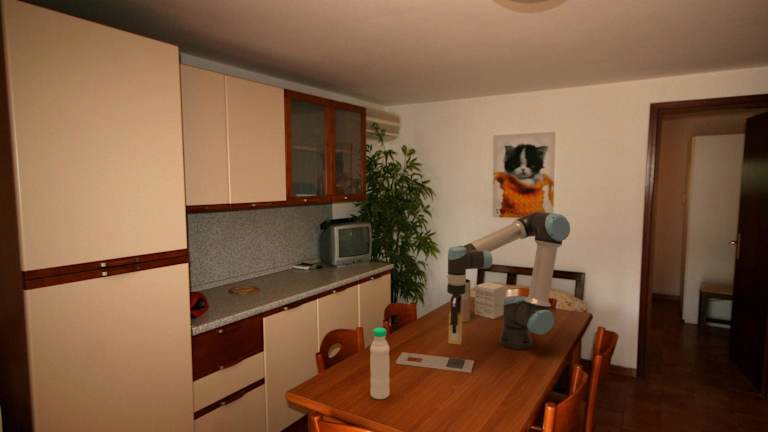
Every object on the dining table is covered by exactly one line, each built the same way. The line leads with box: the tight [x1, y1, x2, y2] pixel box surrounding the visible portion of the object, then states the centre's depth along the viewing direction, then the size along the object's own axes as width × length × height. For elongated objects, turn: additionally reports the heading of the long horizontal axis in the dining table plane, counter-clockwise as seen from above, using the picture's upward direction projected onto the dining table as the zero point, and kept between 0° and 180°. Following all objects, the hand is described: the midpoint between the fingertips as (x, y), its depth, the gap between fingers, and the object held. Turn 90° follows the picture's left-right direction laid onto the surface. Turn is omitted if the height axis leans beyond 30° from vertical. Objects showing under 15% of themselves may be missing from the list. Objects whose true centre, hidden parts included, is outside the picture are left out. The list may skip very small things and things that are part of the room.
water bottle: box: [369, 327, 391, 400], centre depth 160 cm, size 7×7×25 cm
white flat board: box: [395, 352, 475, 374], centre depth 189 cm, size 32×10×1 cm, turn 73°
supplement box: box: [474, 281, 507, 320], centre depth 258 cm, size 13×13×18 cm
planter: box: [461, 278, 472, 323], centre depth 248 cm, size 10×10×23 cm
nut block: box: [447, 311, 463, 345], centre depth 185 cm, size 5×5×12 cm
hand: (455, 337), depth 185 cm, fingers closed on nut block, 5 cm apart
